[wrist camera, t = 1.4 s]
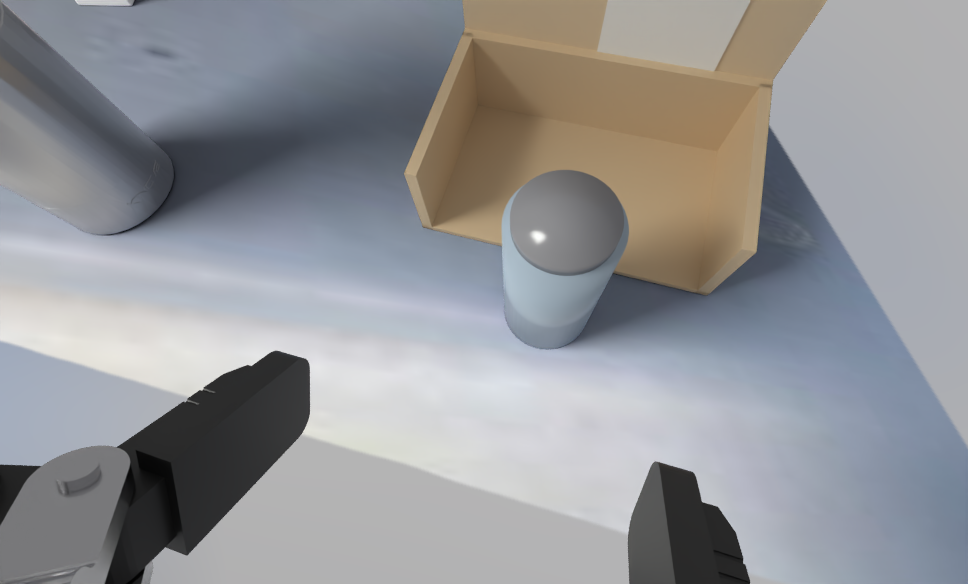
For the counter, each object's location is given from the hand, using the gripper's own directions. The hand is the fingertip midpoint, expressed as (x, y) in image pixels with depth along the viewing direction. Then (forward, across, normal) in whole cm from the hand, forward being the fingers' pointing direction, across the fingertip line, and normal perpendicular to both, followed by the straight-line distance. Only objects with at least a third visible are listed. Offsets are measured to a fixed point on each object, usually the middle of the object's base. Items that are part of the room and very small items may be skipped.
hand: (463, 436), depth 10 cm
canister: (+22, 0, +6) cm, 23 cm away
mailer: (+30, 0, -1) cm, 30 cm away
